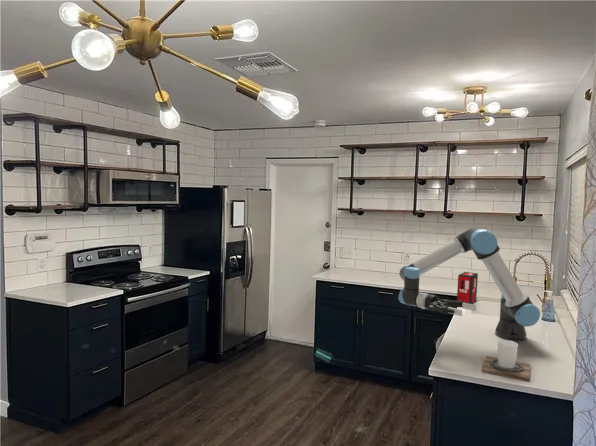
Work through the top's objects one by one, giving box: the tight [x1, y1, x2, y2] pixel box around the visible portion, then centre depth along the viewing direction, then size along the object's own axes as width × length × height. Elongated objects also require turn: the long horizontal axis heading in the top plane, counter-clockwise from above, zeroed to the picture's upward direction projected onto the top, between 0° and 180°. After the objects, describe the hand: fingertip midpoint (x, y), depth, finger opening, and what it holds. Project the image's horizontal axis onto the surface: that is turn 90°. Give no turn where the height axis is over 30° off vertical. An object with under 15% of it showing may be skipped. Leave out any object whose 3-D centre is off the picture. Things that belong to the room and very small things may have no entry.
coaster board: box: [481, 355, 531, 382], centre depth 193 cm, size 18×18×2 cm
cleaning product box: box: [456, 271, 479, 304], centre depth 311 cm, size 16×9×20 cm, turn 145°
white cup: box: [497, 339, 519, 368], centre depth 193 cm, size 8×8×10 cm
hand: (468, 310), depth 206 cm, fingers open, 13 cm apart
